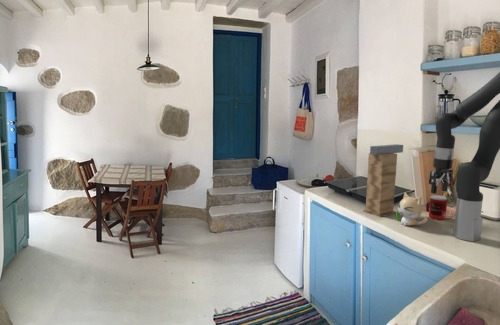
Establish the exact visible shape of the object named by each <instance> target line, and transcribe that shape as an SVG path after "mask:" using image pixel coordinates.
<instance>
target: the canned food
mask: <svg viewBox="0 0 500 325" xmlns="http://www.w3.org/2000/svg"><path fill="white" fill-rule="evenodd" d="M447 205H448V197H446V196H445V195H440V194H439V195H436V194H434V195H430V196H429V206H428V217H429V218H430V219H432V220H435V221H444V220H445V219H446V215H447Z"/></svg>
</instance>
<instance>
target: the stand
mask: <svg viewBox="0 0 500 325" xmlns="http://www.w3.org/2000/svg"><path fill="white" fill-rule="evenodd" d="M397 161H398V153H391V154H380V155H374V154H370V152H369V153H368V162H367V175H366V176H367V180H366V194H365V195H366V198H365V208H364V209H362V210H363V212H364V213H367V214H370V215H373V216H376V217H379V218H381V217H385V216H390V215H394V214H396V211H395V210H394V206H395V193H396V192H395V190H396V176H397V166H398V165H397V164H398V163H397Z"/></svg>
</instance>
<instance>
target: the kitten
mask: <svg viewBox="0 0 500 325" xmlns="http://www.w3.org/2000/svg"><path fill="white" fill-rule="evenodd" d="M402 197H403V198H402V199H401V200H400V201H399V203H398V206H397V211H396V212H395V214H396V215H395V216H396V221H399V222H401V225H402V226H404V227H406V226H410V227H411V226H416V225H423V224H426V223H427V222H428V220H429V219H428V218H427V217H423V219H422V220H421V221H419V220H417V219H418V218H419V217H420V216H421V215H422V213H423V206H422V199H423V198H422V197H421V196H417V197H416V198H415V197H413V196H410V195H409V194H408V193H407V192H404V194H403V196H402ZM399 214H400V215H401V216H402V217H401V218H400V216H399Z"/></svg>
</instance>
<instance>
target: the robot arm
mask: <svg viewBox="0 0 500 325" xmlns="http://www.w3.org/2000/svg"><path fill="white" fill-rule="evenodd" d="M499 94H500V71H498V73H497V74H495V75H494V76H493V77H492V78H491V79H490V80H489V81H488V82H486V83H485V84H484V85H483V86H482V87H480V88H479V89H477V91H475V92H474V93H472V94H471V95H470V96H468V97H466V98H465V99H463V100H462V101H461V102H460V103H458V104H457V105H456V108H455V110H453V111H452V112H444V113H440V114H439V115H438V116H437V118H436V120H435V131H436V132H435V134H436V137H437V139H436V146H435V150H434V154H433V155H434V156H433V164H432V165H433V168H435V170H431V171H430V172H429V178H428V184H429V185H431V189H430V190H431V191H430V193H431V194H434V195H436V194H437V193H438V192H437V191H438V185H439V183H441V182H442V186H441V191H442V192H448V187H449V184H450V183H452V182H453V175H454V174H453V172H454V170H453V169H452V168H453V162H454V158H455V157H454V155H455V143H456V137H455V135H453V134H452V130H453V129H457V128H458V127H460V126H461V125H463V123H464V122H466V121H467V120H468V119H469V118H470V117H472V116H474V115H475V114H477V113H478V112H481V110H482V109H484V108H485V107H486V106H488V105H489V104H490V103H491V101H493V100H494V99H495V98H496V97H497V96H498V95H499ZM478 135H479V138H478V148H477V150H476V153H475V154H474V156H473V157H472V159H471V161H467V162H463V163H461V164H460V165H459V166H458V167H457V170H456V180H455V182H456V183H455V191H456V205H455V214H454V224H453V236H454V238H457V239H458V240H459V239H460V240H463V241H468V242H473V243H474V242H477V241H479V240H481V238H482V229H483V221H484V220H483V217H481V216H482V209H483V200H484V193H482V192H481V191H480V184H481V183H482V182H485V181H486V180H487V179H488V177H489V175H490V173H491V171H492V168H493V165H494V162H495V159H496V157H497V155H498V153H499V151H500V99H499V100H498V102H496V103H495V104H494V106H492V108H490V111H489V112H488V113H487V115H486V117H485V118H484V120H483V123H482V125H481V127H480V130H479V134H478Z"/></svg>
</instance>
